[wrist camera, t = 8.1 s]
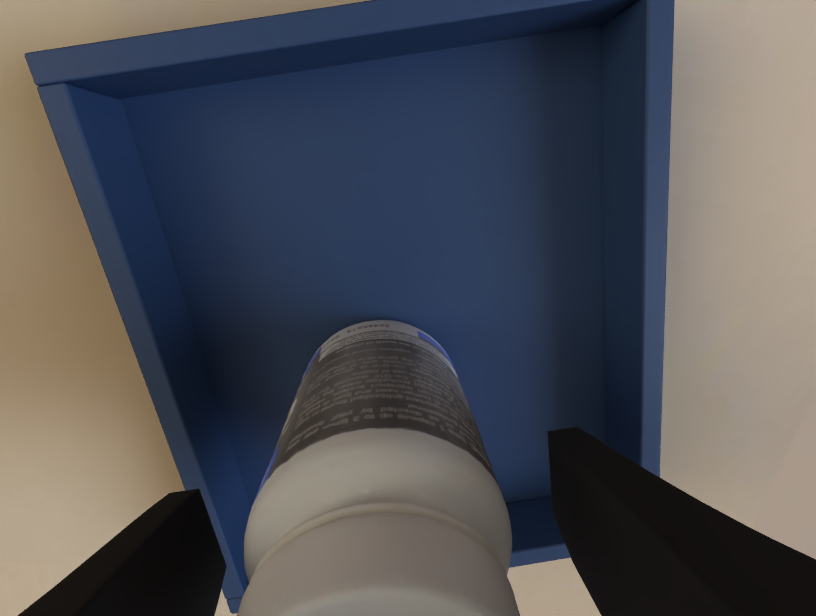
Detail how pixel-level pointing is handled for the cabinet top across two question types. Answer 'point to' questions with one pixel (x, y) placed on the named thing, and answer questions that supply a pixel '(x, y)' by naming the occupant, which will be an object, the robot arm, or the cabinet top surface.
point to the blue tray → (384, 221)
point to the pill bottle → (379, 491)
